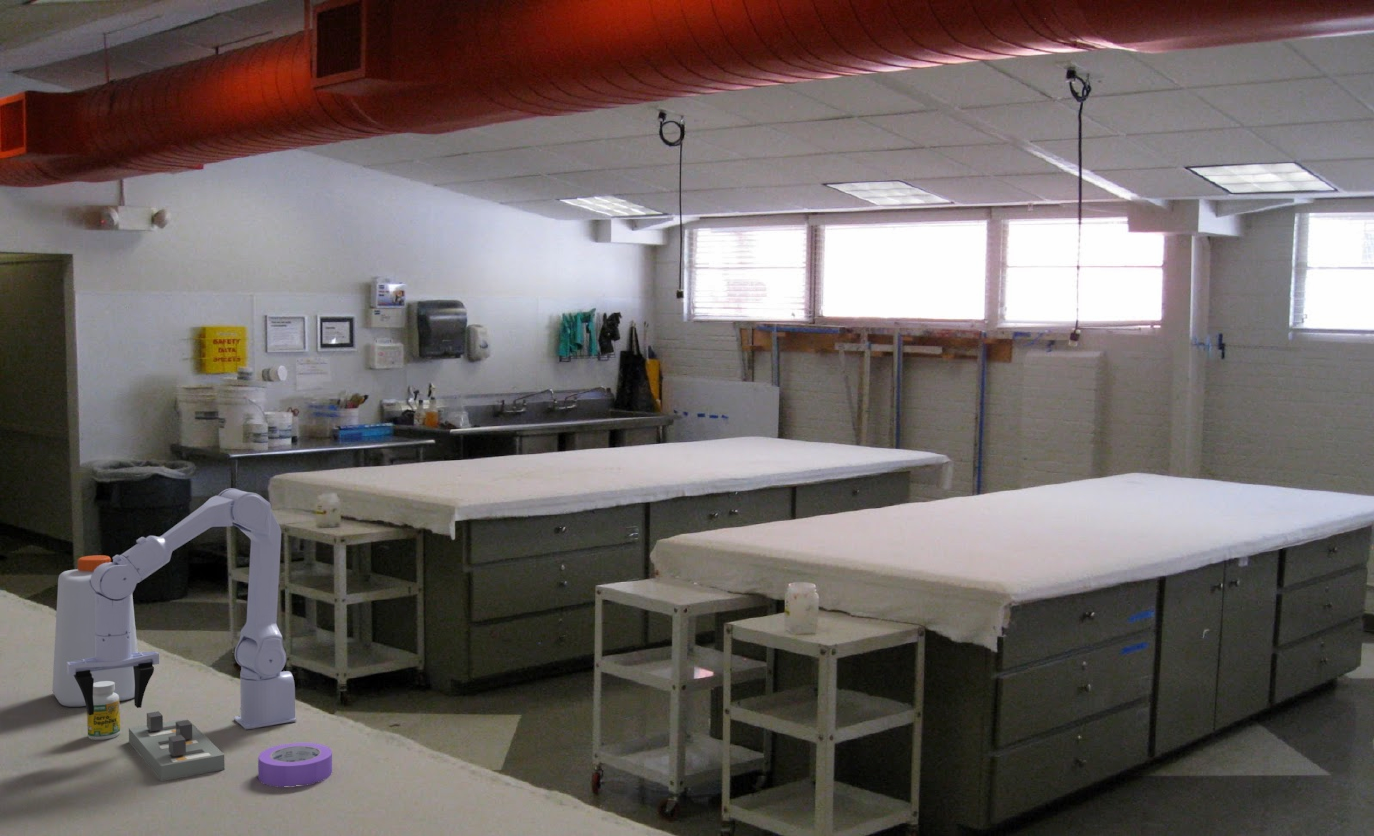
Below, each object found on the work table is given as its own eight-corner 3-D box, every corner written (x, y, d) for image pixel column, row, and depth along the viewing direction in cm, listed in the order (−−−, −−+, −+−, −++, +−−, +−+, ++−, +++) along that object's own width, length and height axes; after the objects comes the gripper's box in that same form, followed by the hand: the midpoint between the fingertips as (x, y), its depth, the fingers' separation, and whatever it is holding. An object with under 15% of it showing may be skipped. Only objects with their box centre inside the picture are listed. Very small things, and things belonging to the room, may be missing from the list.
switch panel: (187, 731, 232) (187, 717, 231) (224, 769, 212) (224, 753, 212) (129, 741, 226) (128, 726, 226) (161, 780, 206) (161, 764, 206)
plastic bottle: (145, 699, 252) (142, 559, 250) (61, 711, 244) (58, 566, 242) (130, 681, 265) (127, 548, 263) (49, 692, 256) (46, 555, 254)
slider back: (158, 724, 226) (158, 711, 226) (162, 729, 224) (162, 715, 224) (146, 726, 225) (146, 713, 225) (150, 731, 223) (150, 717, 222)
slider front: (181, 749, 213) (181, 734, 213) (185, 754, 211) (185, 739, 211) (168, 751, 212) (168, 736, 212) (173, 756, 210) (172, 741, 209)
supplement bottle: (117, 729, 233) (116, 678, 232) (122, 737, 228) (121, 684, 228) (85, 734, 230) (84, 682, 229) (90, 742, 225) (88, 689, 225)
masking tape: (346, 768, 214) (346, 746, 213) (304, 792, 203) (303, 768, 202) (287, 760, 217) (287, 738, 217) (243, 783, 206) (242, 760, 206)
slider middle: (187, 733, 221) (187, 719, 221) (192, 738, 219) (192, 724, 219) (175, 735, 220) (175, 721, 220) (180, 740, 218) (179, 725, 218)
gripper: (152, 623, 227) (153, 697, 228) (63, 633, 219) (64, 710, 219) (161, 630, 221) (162, 707, 222) (70, 641, 213) (71, 720, 214)
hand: (114, 709), depth 220 cm, fingers open, 7 cm apart
